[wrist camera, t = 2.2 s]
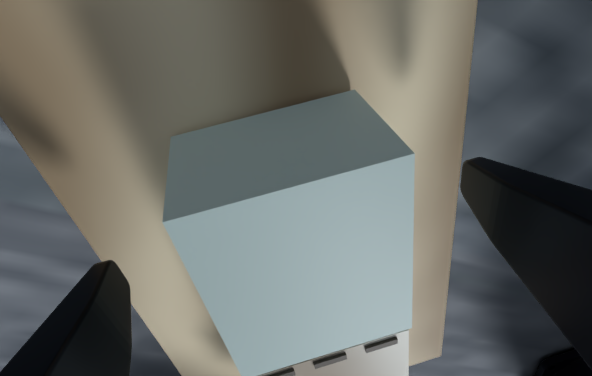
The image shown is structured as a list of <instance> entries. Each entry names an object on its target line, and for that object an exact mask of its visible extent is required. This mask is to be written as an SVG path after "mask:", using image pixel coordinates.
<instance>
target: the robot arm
mask: <svg viewBox="0 0 592 376" xmlns="http://www.w3.org/2000/svg"><path fill="white" fill-rule="evenodd" d="M460 188H461V192H462V195H463V197H464V198H465V200H466V202H467V203H468V205H469V206H470V208H471V210H472V211H473V213H474V215H475V216H476V218H477V219H478V221H479V223H480V224H481V226H482V228H483V229H484V231H485V232H486V234H487V236H488V237H489V239H490V240H491V242H492V243H493V244H494V246H495V247H496V248H497V250H498V251H499V252H500V253H501V255H502V256H503V257H504V259H505V260H506V261H507V262H508V264H509V265H510V266H511V267H512V269H513V270H514V271H515V273H516V274H517V275H518V276H519V278H520V279H521V280H522V282H523V283H524V284H525V285H526V287H527V288H528V289H529V290H530V292H531V293H532V294H533V296H534V297H535V298H536V299H537V301H538V302H539V303H540V305H541V306H542V307H543V308H544V310H545V311H546V312H547V313H548V315H549V316H550V317H551V319H552V320H553V321H554V322H555V324H556V325H557V326H558V328H559V329H560V330H561V331H562V333H563V334H564V335H565V336H566V338H567V339H568V340H569V342H570V343H571V344H572V345H573V347H574V348H575V350H572V351H569V352H566V353H562V354H559V355H556V356H553V357H550V358H547V359H545V360H544V361H542V362H541V363H540V365H539V368H538V370H537V373H536V375H535V376H592V190H590V189H586V188H583V187H580V186H576V185H573V184H570V183H566V182H563V181H560V180H556V179H553V178H550V177H546V176H543V175H539V174H536V173H533V172H529V171H526V170H523V169H519V168H516V167H513V166H509V165H506V164H503V163H499V162H496V161H493V160H489V159H486V158H483V157H477V158H473V159H470V160H466V161H465V162H464V163H463V166H462V175H461V185H460ZM131 349H132V331H131V292H130V285H129V282H128V280H127V279H126V277H125V276H124V274H123V273H122V271H121V270H120V268H119V267H118V265H117V264H116V263H115V262H114V261H113V260H107V261H103V262H99V263H96V264H94V265H93V266H92V267H91V268H90V269H89V271H88V272H87V273H86V274H85V275H84V276H83V277H82V279H81V280H80V281H79V282H78V283H77V284H76V286H75V287H74V288H73V289H72V290H71V291H70V292H69V294H68V295H67V296H66V297H65V298H64V299H63V300H62V302H61V303H60V304H59V305H58V306H57V307H56V309H55V310H54V311H53V312H52V313H51V314H50V315H49V317H48V318H47V319H46V320H45V321H44V322H43V323H42V325H41V326H40V327H39V328H38V329H37V330H36V332H35V333H34V334H33V335H32V336H31V337H30V338H29V340H28V341H27V342H26V343H25V344H24V345H23V346H22V348H21V349H20V350H19V351H18V352H17V353H16V355H15V356H14V357H13V358H12V359H11V360H10V361H9V363H8V364H7V365H6V366H5V367H4V368H3V369H2V371H1V372H0V376H129V373H130V362H131Z"/></svg>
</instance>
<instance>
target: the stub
mask: <svg viewBox="0 0 592 376" xmlns="http://www.w3.org/2000/svg"><path fill="white" fill-rule="evenodd" d="M414 172H415V153H414V152H413V151H412V150H411V149H410V148H409V147H408V146H407V145H406V144H405V142H404V141H403V140H402V139H401V138H400V137H399V136H398V135H397V134H396V133H395V132H394V131H393V130H392V129H391V128H390V126H389V125H388V124H387V123H386V122H385V121H384V120H383V119H382V118H381V117H380V116H379V115H378V114H377V113H376V112H375V110H374V109H373V108H372V107H371V106H370V105H369V104H368V103H367V102H366V101H365V100H364V99H363V98H362V97H361V95H360V94H359V93H358V92H357V91H356V90H355V89H354V90H351V91H347V92H343V93H339V94H335V95H331V96H327V97H323V98H319V99H316V100H312V101H308V102H304V103H300V104H296V105H292V106H288V107H285V108H281V109H277V110H273V111H269V112H265V113H261V114H257V115H253V116H250V117H246V118H242V119H238V120H234V121H230V122H226V123H222V124H218V125H215V126H211V127H207V128H203V129H199V130H195V131H191V132H187V133H183V134H180V135H176V136H172V137H171V140H170V150H169V160H168V170H167V180H166V190H165V201H164V211H163V221H162V223H163V225H164V227H165V229H166V231H167V232H168V234H169V236H170V238H171V240H172V242H173V244H174V246H175V248H176V250H177V252H178V254H179V256H180V258H181V260H182V262H183V264H184V266H185V268H186V269H187V271H188V273H189V275H190V277H191V279H192V281H193V283H194V285H195V287H196V289H197V291H198V293H199V295H200V297H201V299H202V301H203V303H204V304H205V306H206V308H207V310H208V312H209V314H210V316H211V318H212V320H213V322H214V324H215V326H216V328H217V330H218V332H219V334H220V336H221V338H222V340H223V341H224V343H225V345H226V347H227V349H228V351H229V353H230V355H231V357H232V359H233V361H234V363H235V365H236V367H237V369H238V371H239V373H240V375H241V376H258V375H261V374H264V373H267V372H271V371H274V370H277V369H280V368H284V367H287V366H290V365H293V364H297V363H300V362H303V361H306V360H310V359H313V358H316V357H319V356H323V355H326V354H329V353H332V352H336V351H339V350H342V349H345V348H349V347H352V346H355V345H358V344H362V343H365V342H368V341H371V340H375V339H378V338H381V337H384V336H388V335H391V334H394V333H397V332H401V331H404V330H407V329H410V328H412V298H413V235H414Z"/></svg>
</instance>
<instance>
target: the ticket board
mask: <svg viewBox="0 0 592 376" xmlns="http://www.w3.org/2000/svg"><path fill="white" fill-rule="evenodd" d="M477 2H478V0H0V116H1V118H2V119H3V121H4V122H5V124H6V125H7V126H8V128H9V129H10V131H11V132H12V134H13V135H14V136H15V138H16V139H17V141H18V142H19V144H20V145H21V146H22V148H23V149H24V151H25V152H26V154H27V155H28V156H29V158H30V159H31V161H32V162H33V164H34V165H35V166H36V168H37V169H38V171H39V172H40V174H41V175H42V176H43V178H44V179H45V181H46V182H47V184H48V185H49V186H50V188H51V189H52V191H53V192H54V194H55V195H56V196H57V198H58V199H59V201H60V202H61V204H62V205H63V207H64V208H65V209H66V211H67V212H68V214H69V215H70V217H71V218H72V219H73V221H74V222H75V224H76V225H77V227H78V228H79V229H80V231H81V232H82V234H83V235H84V237H85V238H86V239H87V241H88V242H89V244H90V245H91V247H92V248H93V249H94V251H95V252H96V254H97V255H98V257H99V258H100V259H101V261H102V262H103V261H107V260H113V261H114V262H115V263H116V264H117V265H118V267H119V268H120V270H121V271H122V273H123V274H124V276H125V277H126V279H127V280H128V282H129V285H130V292H131V304H132V305H133V307H134V308H135V310H136V311H137V312H138V314H139V315H140V317H141V318H142V320H143V321H144V322H145V324H146V325H147V327H148V328H149V330H150V331H151V332H152V334H153V335H154V337H155V338H156V340H157V341H158V342H159V344H160V345H161V347H162V348H163V350H164V351H165V352H166V354H167V355H168V357H169V358H170V360H171V361H172V363H173V364H174V365H175V367H176V368H177V370H178V371H179V373H180V374H181V375H182V376H241V375H240V373H239V371H238V369H237V367H236V365H235V363H234V361H233V359H232V357H231V355H230V353H229V351H228V349H227V347H226V345H225V343H224V341H223V340H222V338H221V336H220V334H219V332H218V330H217V328H216V326H215V324H214V322H213V320H212V318H211V316H210V314H209V312H208V310H207V308H206V306H205V304H204V303H203V301H202V299H201V297H200V295H199V293H198V291H197V289H196V287H195V285H194V283H193V281H192V279H191V277H190V275H189V273H188V271H187V269H186V268H185V266H184V264H183V262H182V260H181V258H180V256H179V254H178V252H177V250H176V248H175V246H174V244H173V242H172V240H171V238H170V236H169V234H168V232H167V231H166V229H165V227H164V225H163V223H162V221H163V211H164V201H165V190H166V180H167V170H168V160H169V150H170V140H171V137H172V136H176V135H180V134H183V133H187V132H191V131H195V130H199V129H203V128H207V127H211V126H215V125H218V124H222V123H226V122H230V121H234V120H238V119H242V118H246V117H250V116H253V115H257V114H261V113H265V112H269V111H273V110H277V109H281V108H285V107H288V106H292V105H296V104H300V103H304V102H308V101H312V100H316V99H319V98H323V97H327V96H331V95H335V94H339V93H343V92H347V91H351V90H354V89H355V90H356V91H357V92H358V93H359V94H360V95H361V97H362V98H363V99H364V100H365V101H366V102H367V103H368V104H369V105H370V106H371V107H372V108H373V109H374V110H375V112H376V113H377V114H378V115H379V116H380V117H381V118H382V119H383V120H384V121H385V122H386V123H387V124H388V125H389V126H390V128H391V129H392V130H393V131H394V132H395V133H396V134H397V135H398V136H399V137H400V138H401V139H402V140H403V141H404V142H405V144H406V145H407V146H408V147H409V148H410V149H411V150H412V151H413V152H414V153H415V172H414V235H413V298H412V328H410V329H407V330H404V331H401V332H397V333H394V334H391V335H388V336H384V337H381V338H378V339H375V340H371V341H368V342H365V343H362V344H358V345H355V346H352V347H349V348H345V349H342V350H339V351H336V352H332V353H329V354H326V355H323V356H319V357H316V358H313V359H310V360H306V361H303V362H300V363H297V364H293V365H290V366H287V367H284V368H280V369H277V370H274V371H271V372H267V373H264V374H261V375H258V376H409V366H411V365H414V364H418V363H421V362H424V361H427V360H430V359H433V358H437V357H440V356H441V353H442V343H443V333H444V323H445V314H446V304H447V294H448V284H449V275H450V265H451V255H452V245H453V236H454V226H455V216H456V207H457V197H458V187H459V177H460V168H461V158H462V148H463V138H464V129H465V119H466V109H467V99H468V90H469V80H470V70H471V60H472V51H473V41H474V31H475V21H476V12H477Z"/></svg>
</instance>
